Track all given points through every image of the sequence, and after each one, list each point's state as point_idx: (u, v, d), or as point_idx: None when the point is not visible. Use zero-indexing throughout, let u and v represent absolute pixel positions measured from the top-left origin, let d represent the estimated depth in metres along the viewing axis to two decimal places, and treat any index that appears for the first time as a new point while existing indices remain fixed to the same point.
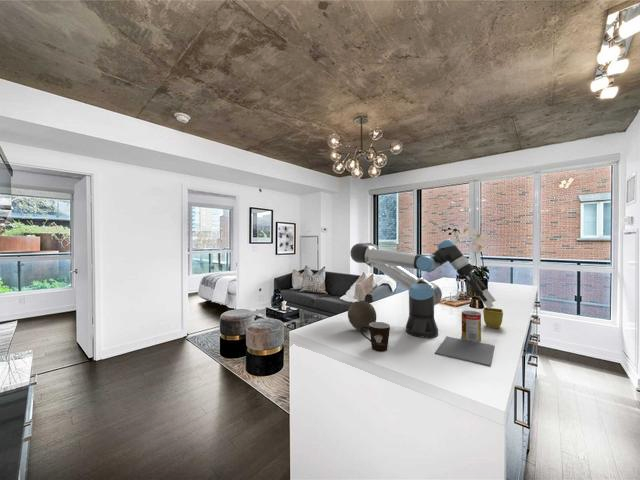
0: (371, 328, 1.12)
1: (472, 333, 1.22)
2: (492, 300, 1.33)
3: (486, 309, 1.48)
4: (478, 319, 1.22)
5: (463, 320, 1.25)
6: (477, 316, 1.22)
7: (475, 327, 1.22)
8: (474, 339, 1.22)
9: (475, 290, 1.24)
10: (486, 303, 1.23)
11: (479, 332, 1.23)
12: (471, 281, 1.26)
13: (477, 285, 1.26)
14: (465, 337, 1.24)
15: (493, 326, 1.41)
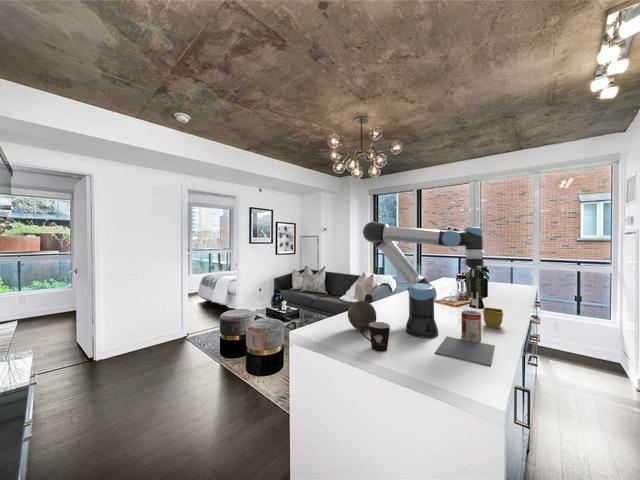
0: (371, 328, 1.12)
1: (472, 333, 1.22)
2: None
3: (486, 309, 1.48)
4: (478, 319, 1.22)
5: (463, 320, 1.25)
6: (477, 316, 1.22)
7: (475, 327, 1.22)
8: (474, 339, 1.22)
9: (472, 288, 1.32)
10: (473, 300, 1.35)
11: (479, 332, 1.23)
12: (473, 279, 1.31)
13: None
14: (465, 337, 1.24)
15: (493, 326, 1.41)
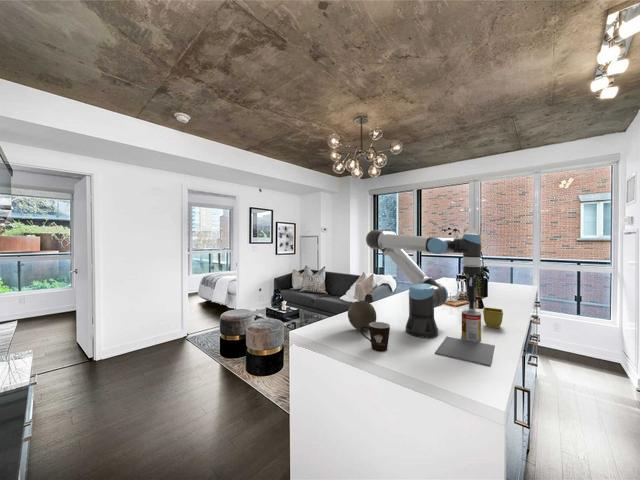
0: (371, 328, 1.12)
1: (472, 333, 1.22)
2: None
3: (486, 309, 1.48)
4: (478, 319, 1.22)
5: (463, 320, 1.25)
6: (477, 316, 1.22)
7: (475, 327, 1.22)
8: (474, 339, 1.22)
9: (470, 297, 1.27)
10: None
11: (479, 332, 1.22)
12: (471, 288, 1.25)
13: None
14: (465, 337, 1.24)
15: (493, 326, 1.41)
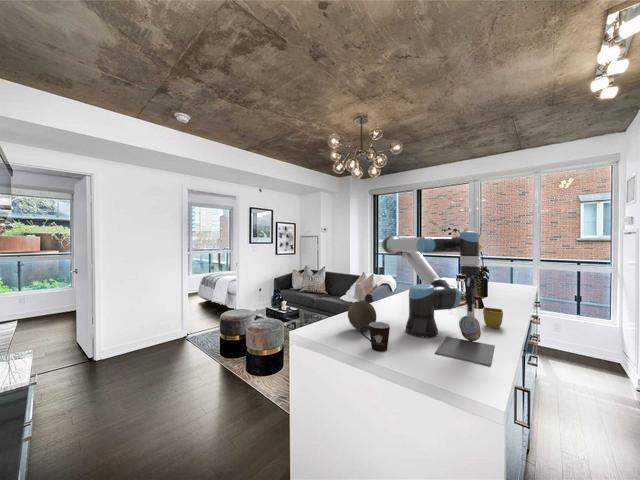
0: (371, 328, 1.12)
1: (472, 339, 1.20)
2: None
3: (486, 309, 1.48)
4: (477, 332, 1.15)
5: (461, 331, 1.19)
6: (476, 332, 1.14)
7: (475, 336, 1.17)
8: (474, 340, 1.21)
9: (468, 299, 1.19)
10: (469, 313, 1.21)
11: (479, 335, 1.19)
12: (469, 289, 1.18)
13: (472, 294, 1.20)
14: (465, 338, 1.23)
15: (493, 326, 1.41)
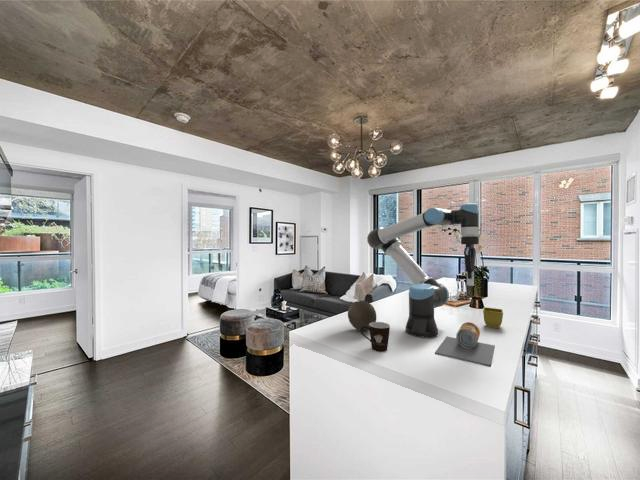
0: (371, 328, 1.12)
1: None
2: None
3: (486, 309, 1.48)
4: None
5: None
6: (474, 345, 1.12)
7: None
8: None
9: (467, 266, 1.27)
10: (468, 280, 1.29)
11: None
12: (468, 257, 1.26)
13: (471, 262, 1.28)
14: None
15: (493, 326, 1.41)
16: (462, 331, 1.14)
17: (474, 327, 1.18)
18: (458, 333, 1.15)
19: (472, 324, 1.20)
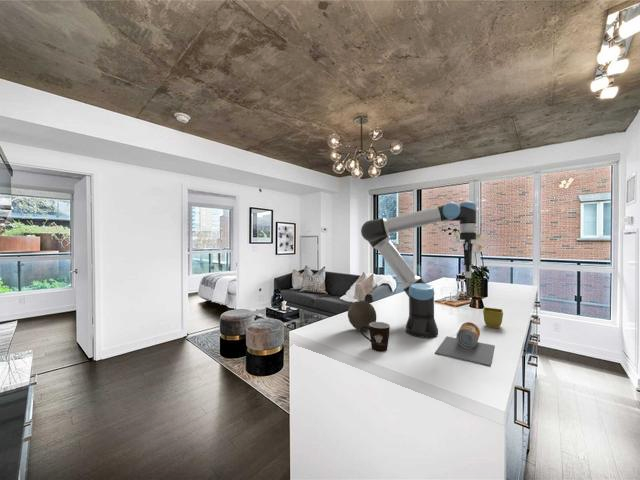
0: (371, 328, 1.12)
1: None
2: None
3: (486, 309, 1.48)
4: None
5: None
6: (474, 345, 1.12)
7: None
8: None
9: (465, 260, 1.37)
10: (466, 273, 1.39)
11: None
12: (467, 251, 1.35)
13: (469, 256, 1.38)
14: None
15: (493, 326, 1.41)
16: (462, 331, 1.14)
17: (474, 327, 1.18)
18: (458, 333, 1.15)
19: (472, 324, 1.20)
